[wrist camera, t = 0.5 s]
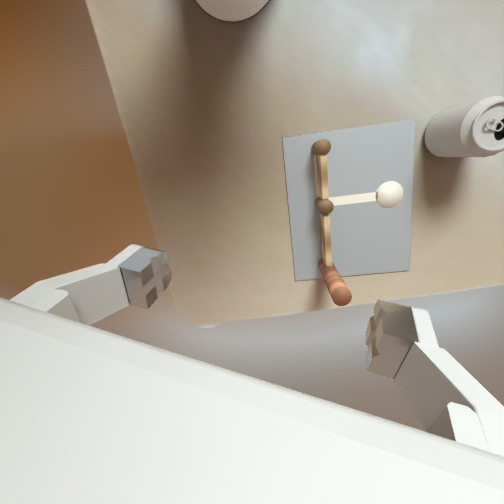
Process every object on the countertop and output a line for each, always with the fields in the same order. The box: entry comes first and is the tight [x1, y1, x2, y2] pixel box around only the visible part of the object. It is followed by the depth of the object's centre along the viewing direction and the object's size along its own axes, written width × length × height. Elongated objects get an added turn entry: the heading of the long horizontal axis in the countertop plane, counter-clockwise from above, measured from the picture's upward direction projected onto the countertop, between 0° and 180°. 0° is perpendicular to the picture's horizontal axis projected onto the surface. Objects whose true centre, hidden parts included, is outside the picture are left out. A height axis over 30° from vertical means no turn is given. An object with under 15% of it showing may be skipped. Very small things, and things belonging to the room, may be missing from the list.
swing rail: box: [318, 212, 352, 306], centre depth 48 cm, size 12×3×14 cm, turn 7°
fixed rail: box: [311, 139, 334, 214], centre depth 48 cm, size 12×2×5 cm, turn 7°
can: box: [425, 96, 504, 157], centre depth 42 cm, size 8×8×12 cm
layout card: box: [282, 119, 415, 281], centre depth 52 cm, size 27×22×1 cm
